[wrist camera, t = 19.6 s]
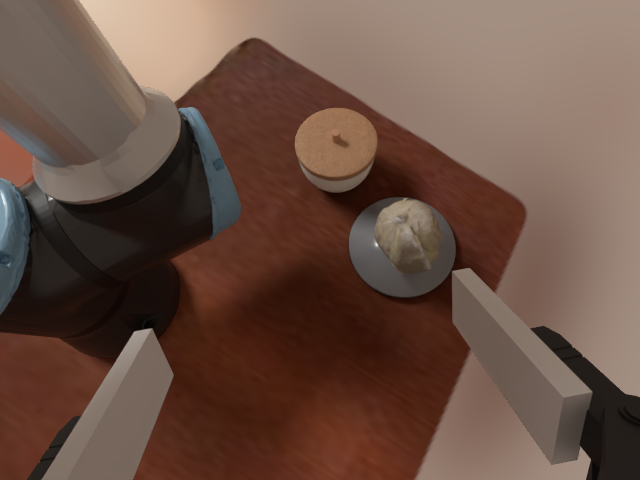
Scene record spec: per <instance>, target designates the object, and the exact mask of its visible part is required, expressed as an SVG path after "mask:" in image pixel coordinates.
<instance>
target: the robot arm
mask: <svg viewBox="0 0 640 480" xmlns="http://www.w3.org/2000/svg"><path fill="white" fill-rule="evenodd" d="M0 130H1V131H2V132H4V133H5V134H6V135H8V136H9V137H10V138H11V139H13V140H14V141H15V142H16V143H18V144H19V145H20V146H21V147H23V148H24V149H25V150H26V151H28V152H29V153H31V154H32V155H33V166H32V168H33V176H34V179H35V180H34V181H32V182H29V183H27V184H25V185H23V186H20V187H15V185H14V184H12V183H11V182H9V181H7V180H5V179H2V178H0V332H3V333H14V334H24V335H34V336H44V337H56V338H60V339H61V340H63V341H64V342H66V343H67V344H69V345H71V346H72V347H73V348H75V349H76V350H78V351H79V352H81V353H84V354H86V355H90V356H94V357H101V358H118V359H117V360H116V362H115V363H114V365H113V367H112V368H111V370H110V371H109V373H108V375H107V376H106V378H105V379H104V381H103V382H102V384H101V386H100V387H99V389H98V390H97V392H96V394H95V395H94V397H93V398H92V400H91V402H90V403H89V405H88V406H87V408H86V410H85V411H84V413H83V414H82V415H81V416H76V417H73V418H72V419H71V420H70V421H69V422H68V423H67V424H66V425H65V426H64V427H63V428H62V429H61V430H60V431H59V432H58V434H57V435H56V437H55V438H54V440H53V441H52V443H51V444H50V446H49V450H46V452H45V453H44V455H43V456H42V458H41V459H40V463H38V464H37V466H36V467H35V469H34V470H33V472H32V473H31V475H30V476H29V478H28V479H27V480H133V478H134V475H135V473H136V470H137V468H138V465H139V463H140V460H141V458H142V455H143V452H144V450H145V447H146V445H147V442H148V440H149V437H150V435H151V432H152V430H153V427H154V425H155V422H156V420H157V417H158V414H159V412H160V409H161V407H162V404H163V402H164V399H165V397H166V394H167V392H168V389H169V387H170V384H171V382H172V379H173V376H174V374H173V372H172V370H171V368H170V366H169V364H168V361H167V359H166V357H165V355H164V353H163V351H162V349H161V346H160V344H159V342H158V340H157V339H158V338H159V337H160V336H161V335H162V334H163V332H164V331H165V330H166V329H167V327H168V326H169V324H170V322H171V321H172V319H173V317H174V314H175V312H176V309H177V306H178V302H179V294H180V287H179V280H178V276H177V273H176V270H175V268H174V267H173V265H172V263H171V262H170V261H169V260H171V259H173V258H175V257H177V256H179V255H181V254H183V253H185V252H187V251H188V250H190V249H192V248H194V247H196V246H198V245H200V244H202V243H204V242H206V241H208V240H212V239H214V238H215V236H216V235H217V234H218V233H220V232H222V231H223V230H225V229H227V228H228V227H230V226H232V225H233V224H235V223H236V222H237V220H238V219H239V217H240V213H241V205H240V201H239V198H238V195H237V192H236V189H235V186H234V184H233V181H232V179H231V176H230V174H229V172H228V169H227V167H226V166H225V164H224V163H223V159H222V156H221V154H220V151H219V149H218V147H217V144H216V142H215V140H214V138H213V136H212V134H211V132H210V130H209V128H208V126H207V124H206V122H205V121H204V119H203V117H202V116H201V114H200V113H199V111H198V110H197V109H196V108H193V107H188V108H180V109H179V110H178V109H177V107H176V106H175V104H174V103H173V101H172V100H171V99H169V97H168V96H166V95H165V94H164V93H162V92H160V91H158V90H155V89H152V88H148V87H142V86H138V84H137V83H136V82H135V80H134V79H133V77H132V76H131V74H130V73H129V72H128V70H127V69H126V67H125V66H124V64H123V63H122V62H121V60H120V59H119V57H118V56H117V54H116V53H115V52H114V50H113V49H112V47H111V46H110V44H109V43H108V41H107V40H106V39H105V37H104V36H103V34H102V33H101V31H100V30H99V28H98V27H97V26H96V24H95V23H94V21H93V20H92V18H91V17H90V16H89V14H88V13H87V11H86V10H85V8H84V7H83V6H82V4H81V3H80V1H79V0H0ZM452 322H453V324H454V325H455V326H456V328H457V329H458V331H459V332H460V334H461V335H462V337H463V338H464V339H465V341H466V342H467V344H468V345H469V347H470V348H471V349H472V351H473V352H474V354H475V355H476V357H477V358H478V360H479V361H480V362H481V364H482V365H483V367H484V368H485V370H486V371H487V373H488V374H489V375H490V377H491V378H492V380H493V381H494V383H495V384H496V386H497V387H498V388H499V390H500V391H501V392H502V394H503V395H504V397H505V398H506V400H507V401H508V403H509V404H510V406H511V407H512V408H513V410H514V411H515V413H516V414H517V416H518V417H519V419H520V420H521V422H522V423H523V424H524V426H525V427H526V429H527V430H528V432H529V433H530V434H531V436H532V437H533V439H534V440H535V442H536V443H537V445H538V446H539V447H540V449H541V450H542V452H543V453H544V454H545V456H546V457H547V459H548V460H549V462H550V463H551V464H558V463H563V462H568V461H573V460H577V459H578V454H579V450H580V446H581V447H582V449H583V450H584V451H585V452H586V453H587V455H588V456H589V457H590V458H591V462H590V466H589V470H588V474H587V478H586V480H640V397H637V396H633V395H627V394H625V393H623V392H622V391H621V390H620V389H619V388H618V387H617V386H616V385H614V384H613V383H612V382H611V381H610V380H609V379H608V378H607V377H606V376H605V375H604V374H603V373H601V372H600V371H599V370H598V369H597V368H596V367H595V366H594V365H593V364H592V363H590V362H589V361H588V360H587V359H586V358H585V357H582V354H581V353H580V352H578V351H577V350H576V349H575V348H573V347H572V345H571V344H570V343H569V342H568V341H566V340H565V339H564V338H563V337H562V336H561V335H560V334H558V333H556V332H554V331H552V330H550V329H549V328H547V327H545V326H541V327H536V328H529V327H528V326H527V325H526V324H525V323H524V322H523V321H522V320H521V319H520V318H519V317H518V316H517V315H516V314H515V313H514V312H513V311H512V310H511V309H510V308H509V307H508V306H507V305H505V303H504V302H503V301H502V300H501V299H500V298H499V297H498V296H497V295H496V294H495V293H494V292H493V291H492V290H491V289H490V288H489V287H488V286H487V285H486V284H485V283H484V282H483V281H482V280H481V279H480V278H479V277H478V276H477V275H476V274H475V273H474V272H473V271H472V270H471V269H470V268H466V269H461V270H456V271H452Z"/></svg>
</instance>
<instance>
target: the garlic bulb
mask: <svg viewBox="0 0 640 480" xmlns="http://www.w3.org/2000/svg"><path fill="white" fill-rule="evenodd" d="M442 236H443V233H442V232H441V230H440V229H439V226H438V221H437V219H436V218H435V216H434V215H433V212H432V210H431V209H430V208H429V207H428V206H426V205H425V204H423V203H421V202H419V201H416V200H408V198H404V199H403V200H402V201H398V202H395V203H393V204H391V205H390V206H388V207H385V208H384V209H383V210H382V211H381V212H380V214H379V216H378V218H377V222H376V225H375V230H374V237H375V240H376V242H377V244H378V246H379V247H380V249H381V250H382V251H383V253H384V254H385V256H387V257H388V258H389V260H390V262H391V264H392V266H393V267H394V268H395V270H396V271H397V272H398V274H399V275H400V276H402V275H403V274H404V273H412V274H419V273H422V272H425V271H427V270H429V269H431V265H432V263H433V262H434V261H435V260H436V259H437V257H438V247H439V245H440V243H441V241H442Z"/></svg>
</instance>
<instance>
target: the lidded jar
mask: <svg viewBox="0 0 640 480" xmlns="http://www.w3.org/2000/svg"><path fill="white" fill-rule="evenodd" d="M377 146H378V139H377V134H376V131H375V129H374V127H373V125H372V124H371V123H370V122H369V120H368V119H366V118H365V117H364V116H363V115H361V114H359V113H357V112H355V111H353V110H349V109H344V108H331V109H326V110H322V111H319V112H317V113H315V114H313V115H312V116H310V117H309V118H308V119H306V120H305V121H304V122H303V124H302V125H301V126H300V128H299V130H298V132H297V134H296V138H295V150H296V154H297V157H298V160H299V163H300V166H301V168H302V170H303V172H304V174H305V176H306V177H307V178H308V180H309V181H310V182H311V183H312V184H313V185H315V186H316V187H318V188H320V189H321V190H324V191H327V192H334V193H339V192H345V191H348V190H351V189H353V188H355V187H356V186H358V185H359V184H360V183H361V182H362V181H363V180H364V179H365V178H366V176H367V175H368V173H369V172H370V170H371V167H372V165H373V162H374V158H375V155H376V151H377Z"/></svg>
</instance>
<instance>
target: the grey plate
mask: <svg viewBox="0 0 640 480" xmlns="http://www.w3.org/2000/svg"><path fill="white" fill-rule="evenodd" d="M404 198H405V197H393V198H387V199H383V200H380V201H378V202H375V203H374V204H372V205H370V206H369V207H367V208H366V209H365V210H364V211H363V212H362V213H361V214H360V215H359V216H358V217H357V219H356V221H355V222H354V224H353V227H352V229H351V232H350V238H349V254H350V259H351V262H352V265H353V267H354V269H355V271H356V272H357V274H358V275H359V277H360V278H361V279H362V280H363V281H364V282H365V283H366V284H367V285H368V286H370V287H371V288H372V289H374V290H376V291H377V292H379V293H382V294H384V295H387V296H390V297H395V298H413V297H417V296H421V295H424V294H426V293H428V292H430V291H432V290H433V289H435V288H436V287H437V286H438V285H440V284H441V283H442V282H443V281H444V280H445V278H446V277H447V276H448V274H449V273H450V271H451V269H452V267H453V264H454V261H455V255H456V245H455V239H454V235H453V233H452V230H451V228H450V226H449V224H448V223H447V221H446V220H445V219H444V217H443V216H442V215H441V214H440V213H439V212H438V211H436V210H435V209H434V208H432V207H431V206H429V205H428V204H426V203H424V202H421V201H419V200H416V199H412V198H408V200H416V201H419V202H421V203H423V204H425V205H426V206H428V207H429V208H430V209H431V210H432V212H433V215H434V216H435V218H436V219H437V221H438V226H439V229H440V230H441V232H442V233H443V236H442V241H441V243H440V245H439V247H438V257H437V259H436V260H435V261H434V262H433V263H432V265H431V269H429V270H427V271H425V272H422V273H419V274H412V273H404V274H403V275H402V276H400V275H399V274H398V272H397V271H396V270H395V268H394V267H393V266H392V264H391V262H390V260H389V258H388V257H387V256H385V254H384V253H383V251H382V250H381V249H380V247H379V246H378V244H377V242H376V240H375V237H374V230H375V225H376V222H377V218H378V216H379V214H380V212H381V211H382V210H383V209H384V208H385V207H388V206H390V205H391V204H393V203H395V202H398V201H402V200H403V199H404Z"/></svg>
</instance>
